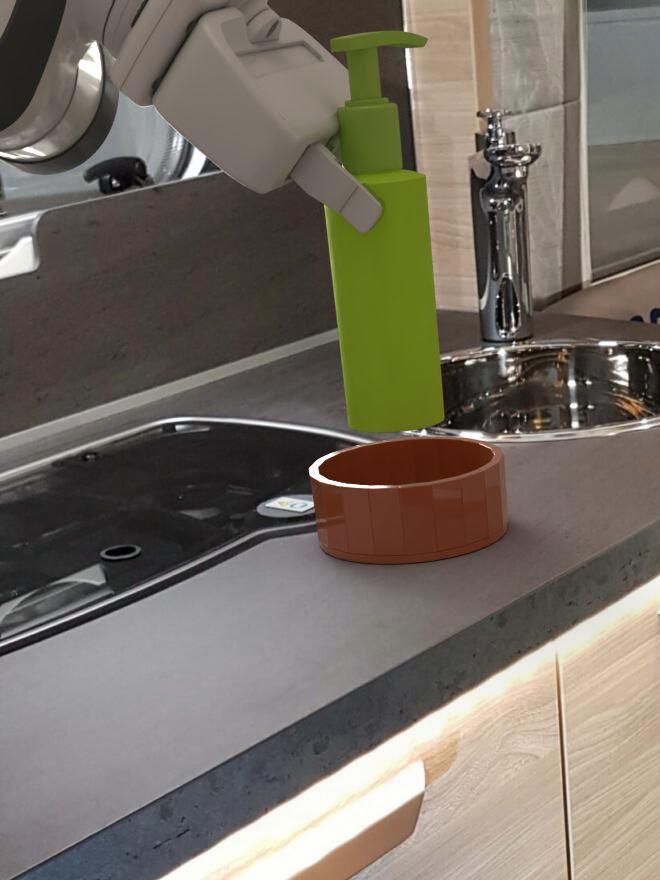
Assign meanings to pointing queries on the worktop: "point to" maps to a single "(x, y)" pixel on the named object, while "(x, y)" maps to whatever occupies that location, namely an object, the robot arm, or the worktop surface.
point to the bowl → (410, 499)
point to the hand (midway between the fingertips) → (391, 213)
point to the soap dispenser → (384, 261)
